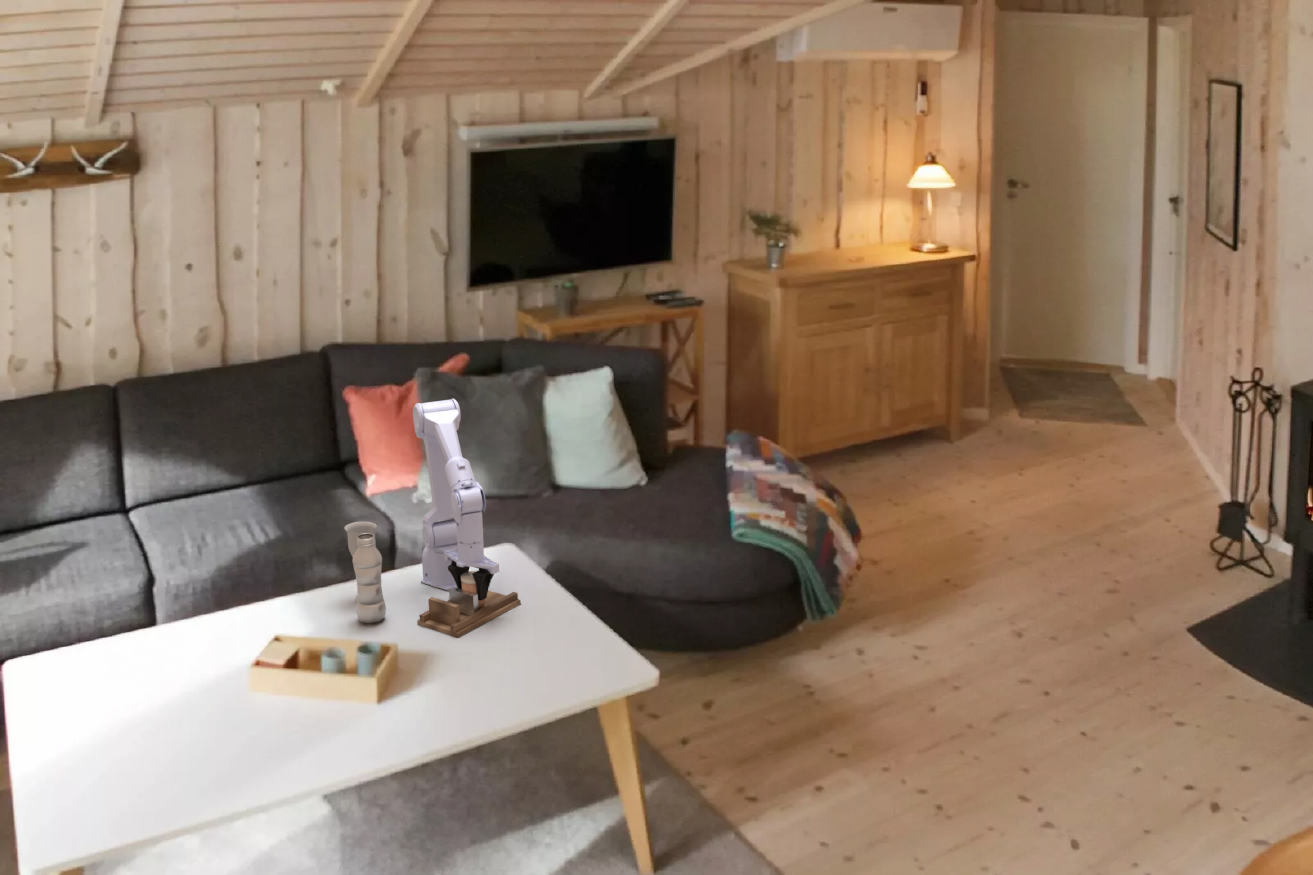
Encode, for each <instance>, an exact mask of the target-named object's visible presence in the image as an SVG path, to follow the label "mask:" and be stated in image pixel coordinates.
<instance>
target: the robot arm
mask: <svg viewBox="0 0 1313 875" xmlns="http://www.w3.org/2000/svg"><path fill="white" fill-rule="evenodd" d="M461 417H462V414H461V408H460V405H459V402H458V401H457V400H456V399H455V398H451V399H445V400H438V401H437V400H436V401H430V402H429V401H427V402H422V403H420V402H416V403H415V404H414V406H413V409H412V420H413V425H414V426H413V427H414V432H415V434H416V435H415V436H416V438H418V439H422V441H423V444H424V448H425V453H426V454H425V455H426V456H425V457H426V463H427V469H428V470H427V471H428V478H429V486H430V491H431V492H430V493H431V500H432V508H431V509H430V510H429V511H428V512H427V513H426V514H425V515H424V516H423V519H422V527H423V528H422V536H423V537H422V538H423V542H424V544H425V546H424V548H423V551H422V554H421V564H422V565H421V566H422V579H421V580H420V583H422V584H426V585H429V586H432V587H435V588H439V589H442V590H445V591H448V592H449V589H450V588H452V587H456V588H460V589H462V583H461V575H462V574H463V573H465V572H468V571H470V568H475V569H478V570H475V571H476V572H474V573H472V575H473V577H474V580H475V583H476V587H477V594H478V600H480V601H481V600H483V599H485V598H487V593H488V590H489V589H490V588H489V587H490V585H491V581H492V579H493V577H494V575H495V574H498V573H499V572H500V564H499V562H498V563H497V562H496V561H493V560H491V559H490V558H488V557H487V556H485V551H484V548H485V547H484V528H483V513H482V512H485V510H486V507H487V506H486V496H485V492H484V490H483V489H484V488H483V487H482V486H481V485H480V482H479V481H476V478H475V475H474V472H473V469H472V467H471V462H470V461H469V460H468V459H466V458H464V457H463V453H462V451H461V450H462V448H461V444H460V440H459V436H458V432H457V431H458V430H459V428H460V422H461V419H462V418H461Z"/></svg>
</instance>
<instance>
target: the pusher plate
mask: <svg viewBox="0 0 1313 875" xmlns="http://www.w3.org/2000/svg"><path fill="white" fill-rule="evenodd" d="M448 600H449V602H450V603H454V604H457V605H459V608H460V613H463V614H466V615H471V614H473V613H474V612H476V611H478V594H476V593H473V592H470V591H466V590H463V589H460V588H456V587H452V588H450V589H449V591H448Z"/></svg>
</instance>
